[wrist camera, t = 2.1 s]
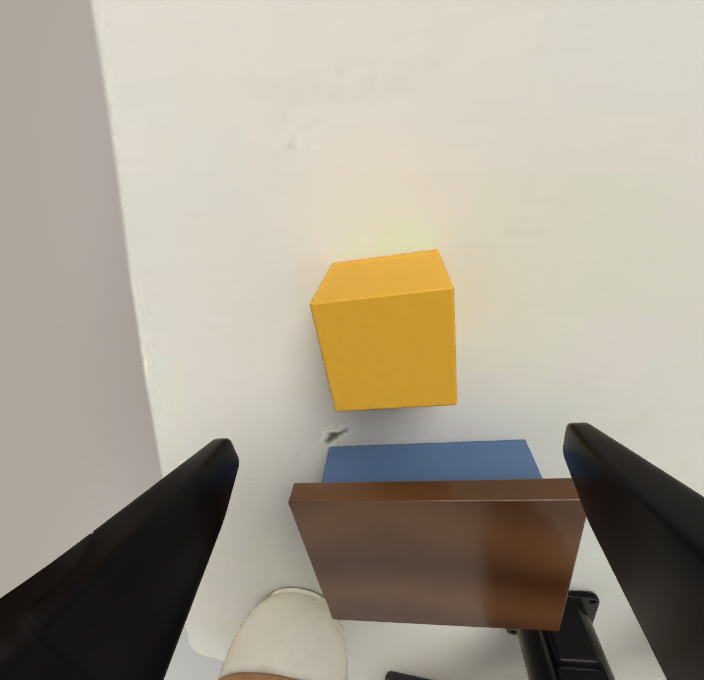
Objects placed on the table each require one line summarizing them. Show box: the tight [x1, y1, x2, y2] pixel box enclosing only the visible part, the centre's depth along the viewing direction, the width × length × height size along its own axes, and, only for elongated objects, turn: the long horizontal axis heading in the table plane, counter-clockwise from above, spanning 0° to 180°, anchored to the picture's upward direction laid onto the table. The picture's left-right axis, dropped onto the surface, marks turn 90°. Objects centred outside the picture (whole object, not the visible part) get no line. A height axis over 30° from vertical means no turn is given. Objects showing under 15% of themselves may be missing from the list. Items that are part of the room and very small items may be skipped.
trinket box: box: [218, 588, 348, 680], centre depth 29 cm, size 11×11×9 cm
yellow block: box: [310, 250, 457, 411], centre depth 15 cm, size 5×5×5 cm
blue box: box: [322, 440, 542, 483], centre depth 22 cm, size 9×12×4 cm
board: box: [289, 478, 586, 631], centre depth 20 cm, size 12×14×1 cm
